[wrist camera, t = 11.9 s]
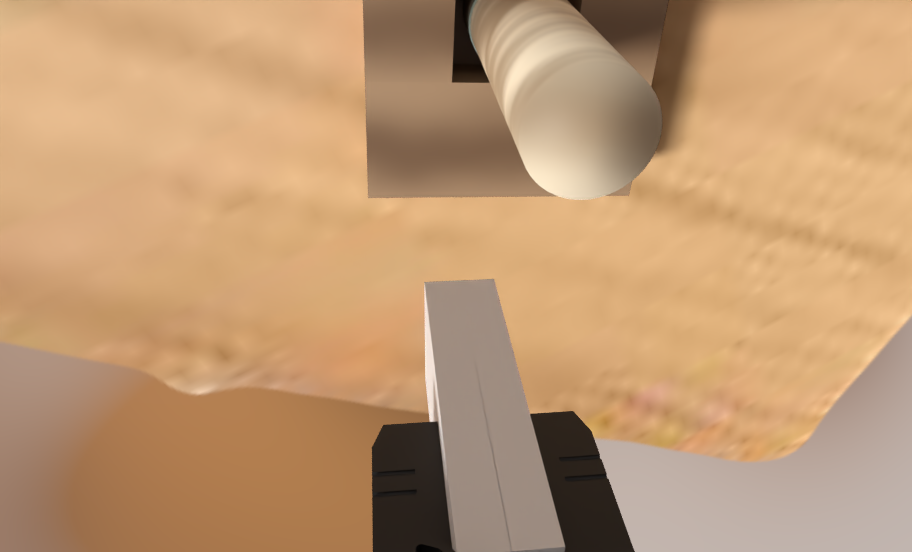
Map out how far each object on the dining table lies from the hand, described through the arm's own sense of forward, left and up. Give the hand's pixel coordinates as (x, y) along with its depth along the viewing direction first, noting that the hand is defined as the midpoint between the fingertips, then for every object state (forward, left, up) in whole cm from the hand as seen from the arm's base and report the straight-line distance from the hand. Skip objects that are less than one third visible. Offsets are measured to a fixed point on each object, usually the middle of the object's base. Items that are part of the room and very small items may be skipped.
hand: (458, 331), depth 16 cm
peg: (-2, +5, -23) cm, 24 cm away
